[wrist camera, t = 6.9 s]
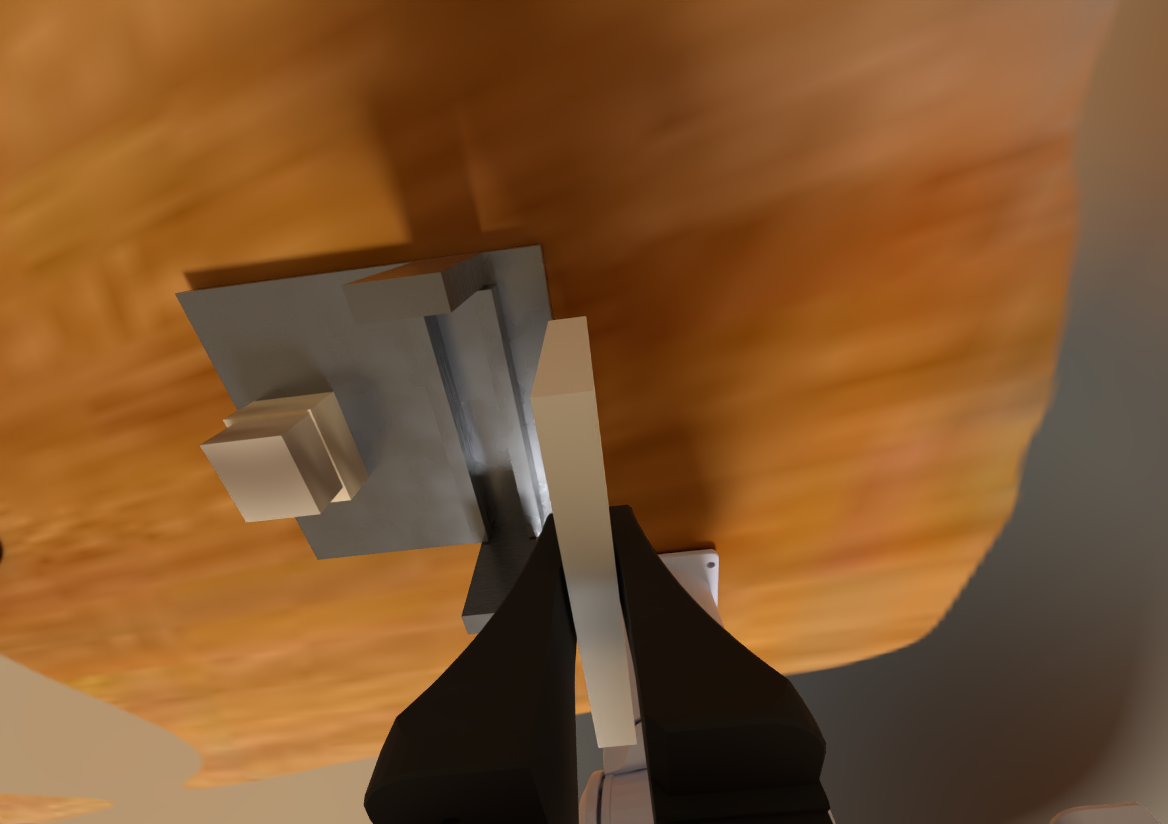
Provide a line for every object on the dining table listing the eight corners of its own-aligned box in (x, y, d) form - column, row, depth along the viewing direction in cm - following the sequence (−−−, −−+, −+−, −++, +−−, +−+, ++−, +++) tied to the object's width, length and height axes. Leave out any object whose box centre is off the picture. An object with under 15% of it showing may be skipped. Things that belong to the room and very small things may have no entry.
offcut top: (343, 487, 20) (320, 514, 18) (275, 494, 20) (246, 522, 19) (309, 413, 19) (281, 435, 17) (235, 422, 19) (199, 445, 17)
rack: (584, 519, 25) (587, 622, 19) (326, 547, 26) (246, 656, 20) (541, 243, 18) (524, 260, 12) (193, 289, 19) (5, 328, 13)
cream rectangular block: (618, 587, 18) (636, 744, 13) (591, 589, 18) (598, 748, 13) (585, 316, 13) (594, 390, 8) (548, 320, 13) (530, 398, 8)
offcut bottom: (368, 476, 22) (351, 500, 21) (296, 485, 23) (272, 508, 21) (333, 391, 20) (310, 409, 18) (253, 401, 20) (223, 419, 19)
